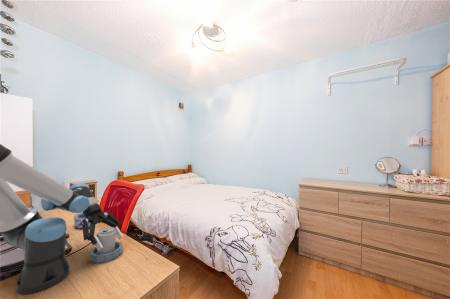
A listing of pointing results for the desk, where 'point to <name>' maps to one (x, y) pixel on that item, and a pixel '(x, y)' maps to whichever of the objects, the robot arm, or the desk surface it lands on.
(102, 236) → the can
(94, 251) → the bowl
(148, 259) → the desk surface
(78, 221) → the mineral
